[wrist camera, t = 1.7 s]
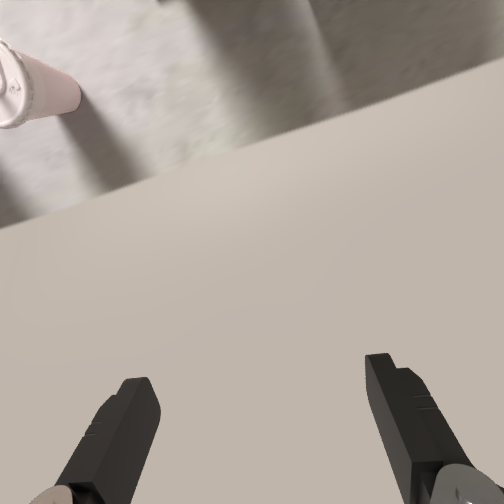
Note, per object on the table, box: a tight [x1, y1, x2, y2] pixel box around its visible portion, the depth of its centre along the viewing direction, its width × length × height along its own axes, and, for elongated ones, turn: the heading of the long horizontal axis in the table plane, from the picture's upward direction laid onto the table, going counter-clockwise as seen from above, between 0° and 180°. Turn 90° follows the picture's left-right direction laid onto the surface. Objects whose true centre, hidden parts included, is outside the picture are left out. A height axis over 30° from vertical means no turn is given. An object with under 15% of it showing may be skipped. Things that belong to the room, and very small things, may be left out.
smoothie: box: [0, 38, 81, 129], centre depth 24 cm, size 6×6×14 cm
